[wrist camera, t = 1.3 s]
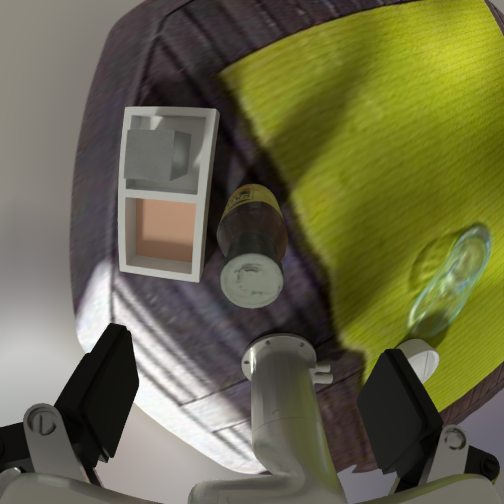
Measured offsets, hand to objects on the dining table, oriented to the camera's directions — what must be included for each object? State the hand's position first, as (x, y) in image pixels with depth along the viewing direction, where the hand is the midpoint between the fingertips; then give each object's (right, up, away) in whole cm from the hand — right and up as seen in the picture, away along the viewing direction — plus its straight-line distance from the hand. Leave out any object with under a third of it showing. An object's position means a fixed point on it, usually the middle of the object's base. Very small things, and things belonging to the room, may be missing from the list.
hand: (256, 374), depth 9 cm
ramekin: (+30, -16, +37) cm, 50 cm away
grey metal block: (-10, +17, +23) cm, 30 cm away
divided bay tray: (-11, +12, +25) cm, 30 cm away
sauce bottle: (0, +10, +26) cm, 28 cm away
